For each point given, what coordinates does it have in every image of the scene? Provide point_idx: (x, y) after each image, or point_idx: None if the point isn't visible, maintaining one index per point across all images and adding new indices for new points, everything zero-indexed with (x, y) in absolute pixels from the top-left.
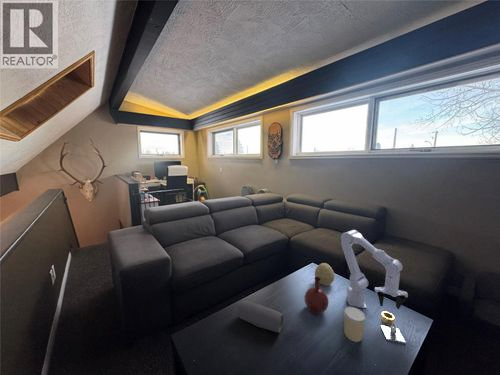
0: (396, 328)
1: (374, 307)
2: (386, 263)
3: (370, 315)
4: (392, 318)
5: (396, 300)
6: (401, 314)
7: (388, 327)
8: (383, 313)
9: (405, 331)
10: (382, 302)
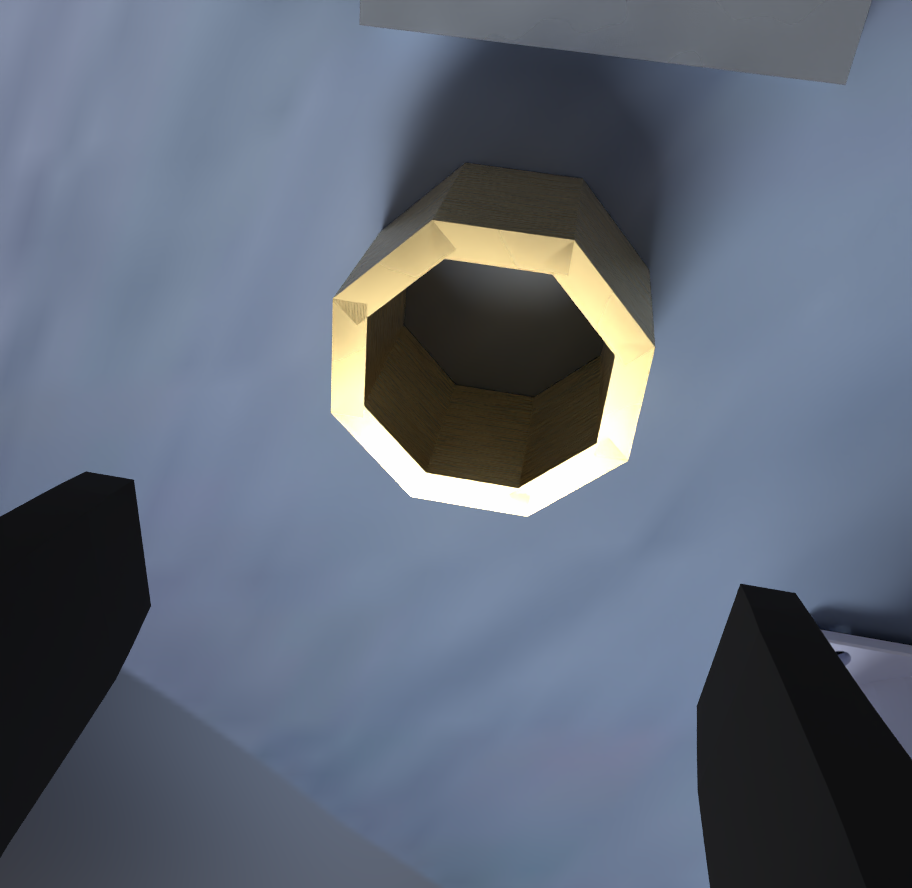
0: (410, 14)
1: (587, 651)
2: None
3: (845, 442)
4: (407, 276)
5: (9, 834)
6: None
7: (638, 16)
8: (568, 449)
9: (194, 4)
10: (838, 751)
